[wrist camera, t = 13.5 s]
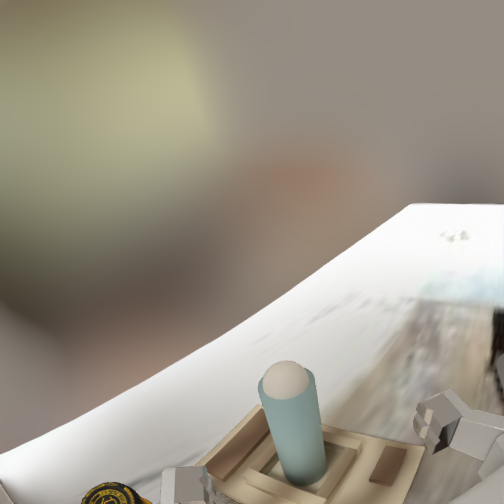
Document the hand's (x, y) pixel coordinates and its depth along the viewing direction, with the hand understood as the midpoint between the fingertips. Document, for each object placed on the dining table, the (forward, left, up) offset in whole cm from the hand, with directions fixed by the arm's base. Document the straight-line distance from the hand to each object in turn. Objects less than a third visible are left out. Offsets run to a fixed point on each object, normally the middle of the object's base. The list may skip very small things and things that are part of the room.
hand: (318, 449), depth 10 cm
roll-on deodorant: (-8, +9, -20) cm, 23 cm away
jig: (-8, +9, -21) cm, 24 cm away
